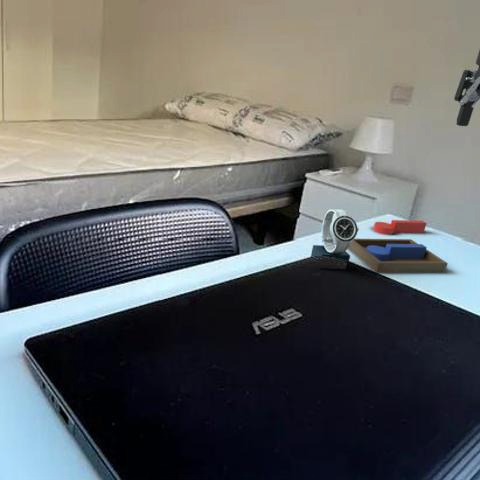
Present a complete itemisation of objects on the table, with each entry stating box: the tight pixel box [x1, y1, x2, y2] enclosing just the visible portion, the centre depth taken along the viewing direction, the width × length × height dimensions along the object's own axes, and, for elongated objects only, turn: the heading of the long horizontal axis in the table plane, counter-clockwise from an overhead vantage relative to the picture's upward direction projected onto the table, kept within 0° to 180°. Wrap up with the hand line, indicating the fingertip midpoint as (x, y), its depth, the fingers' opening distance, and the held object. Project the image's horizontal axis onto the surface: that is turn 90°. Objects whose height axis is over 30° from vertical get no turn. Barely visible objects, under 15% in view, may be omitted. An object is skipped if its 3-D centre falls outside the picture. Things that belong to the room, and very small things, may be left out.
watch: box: [310, 208, 360, 262], centre depth 94 cm, size 6×8×11 cm
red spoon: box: [372, 219, 428, 236], centre depth 116 cm, size 12×4×3 cm, turn 99°
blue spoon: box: [366, 243, 428, 261], centre depth 100 cm, size 12×4×3 cm, turn 99°
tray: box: [347, 238, 448, 273], centre depth 100 cm, size 15×12×2 cm
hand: (477, 129), depth 96 cm, fingers open, 8 cm apart
